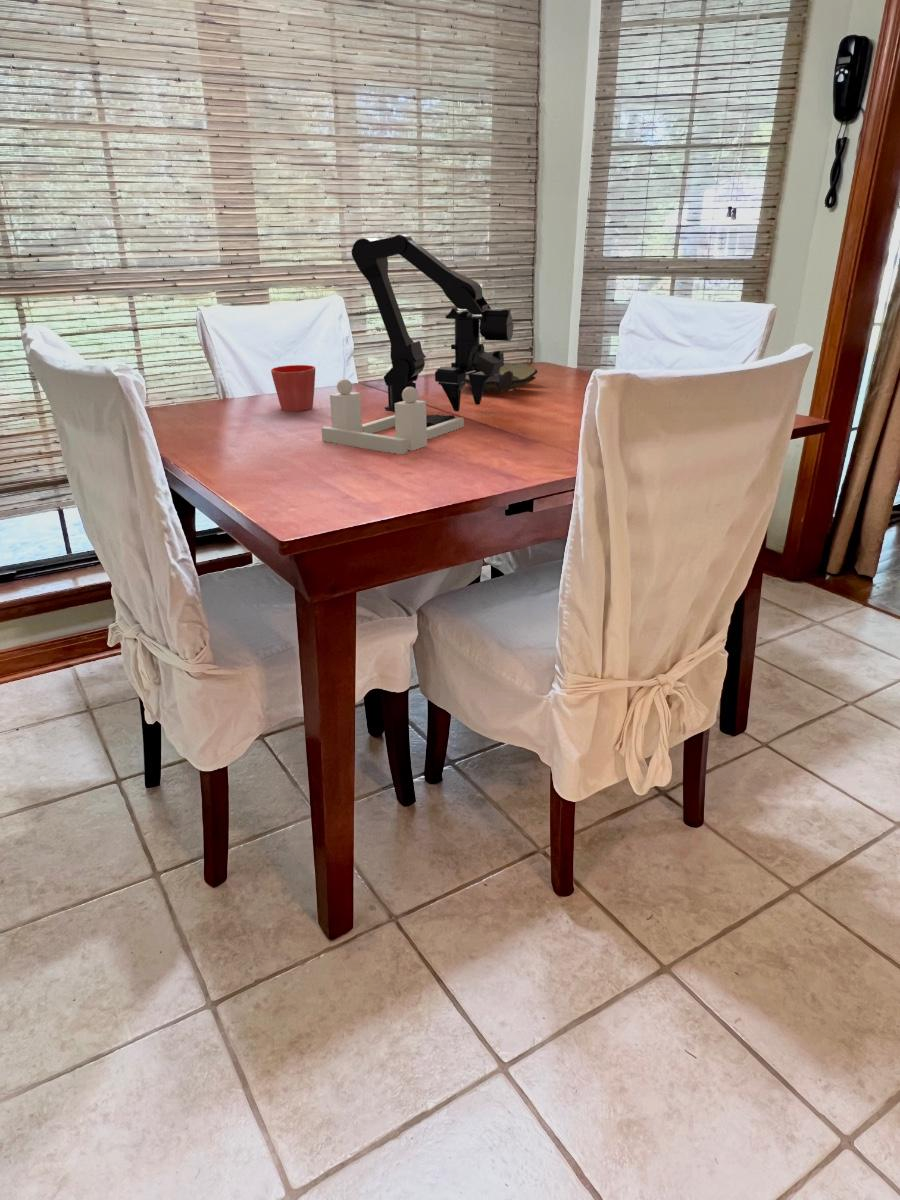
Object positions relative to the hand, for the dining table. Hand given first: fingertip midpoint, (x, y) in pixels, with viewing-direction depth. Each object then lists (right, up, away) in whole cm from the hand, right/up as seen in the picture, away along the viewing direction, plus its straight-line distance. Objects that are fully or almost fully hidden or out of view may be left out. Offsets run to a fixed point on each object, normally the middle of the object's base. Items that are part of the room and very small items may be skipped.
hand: (467, 407), depth 193 cm
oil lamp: (+8, +11, +27) cm, 30 cm away
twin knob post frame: (-15, -10, -19) cm, 26 cm away
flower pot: (-42, +2, +8) cm, 43 cm away
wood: (-9, -8, -13) cm, 18 cm away
